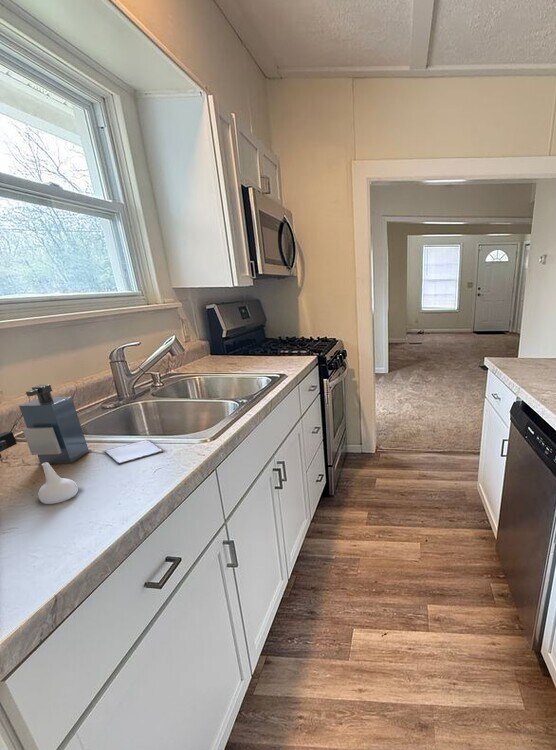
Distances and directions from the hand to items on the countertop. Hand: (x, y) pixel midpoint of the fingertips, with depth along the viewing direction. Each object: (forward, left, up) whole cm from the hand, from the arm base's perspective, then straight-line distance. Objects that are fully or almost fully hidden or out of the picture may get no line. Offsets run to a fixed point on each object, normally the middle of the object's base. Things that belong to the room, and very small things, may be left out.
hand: (10, 438), depth 83 cm
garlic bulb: (+14, +3, -11) cm, 18 cm away
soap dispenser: (-9, +9, -11) cm, 16 cm away
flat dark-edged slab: (0, +21, -11) cm, 24 cm away
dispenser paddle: (-5, +5, -7) cm, 10 cm away
